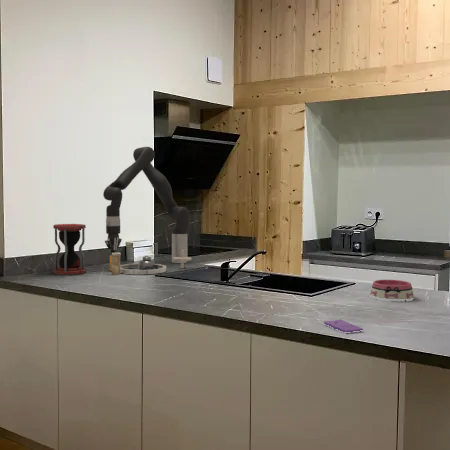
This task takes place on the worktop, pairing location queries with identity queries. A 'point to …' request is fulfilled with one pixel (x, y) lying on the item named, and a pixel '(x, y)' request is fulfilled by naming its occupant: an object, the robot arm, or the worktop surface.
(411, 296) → the dog bowl
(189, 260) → the pipe connector
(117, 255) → the gauge stand
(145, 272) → the ring
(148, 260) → the cover
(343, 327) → the sponges
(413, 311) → the worktop surface
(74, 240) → the hourglass
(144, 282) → the worktop surface
